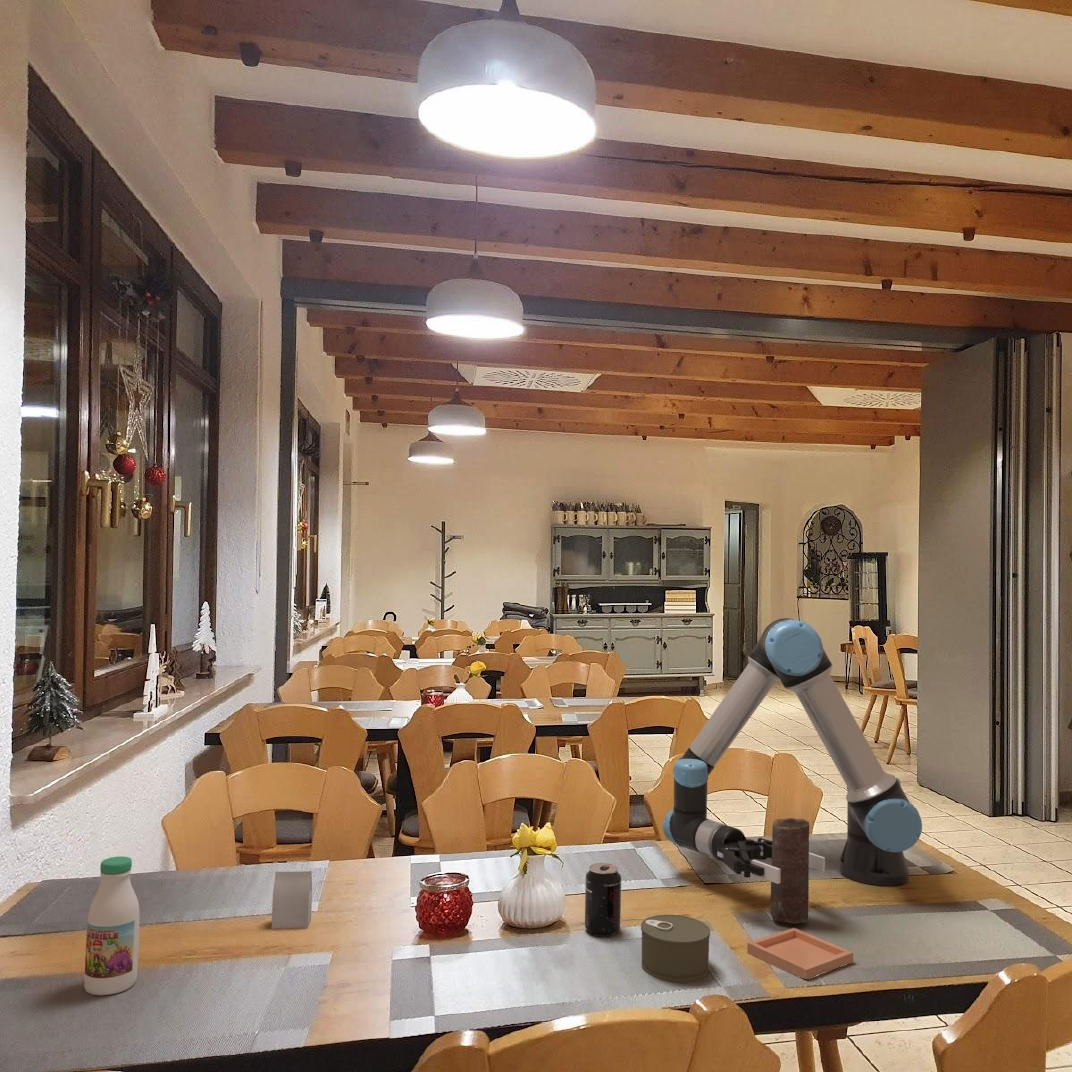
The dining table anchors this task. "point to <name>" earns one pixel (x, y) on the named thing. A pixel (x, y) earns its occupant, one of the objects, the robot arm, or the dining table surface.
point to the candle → (790, 870)
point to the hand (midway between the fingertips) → (802, 870)
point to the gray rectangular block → (292, 899)
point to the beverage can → (603, 899)
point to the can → (675, 948)
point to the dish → (799, 953)
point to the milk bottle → (112, 931)
